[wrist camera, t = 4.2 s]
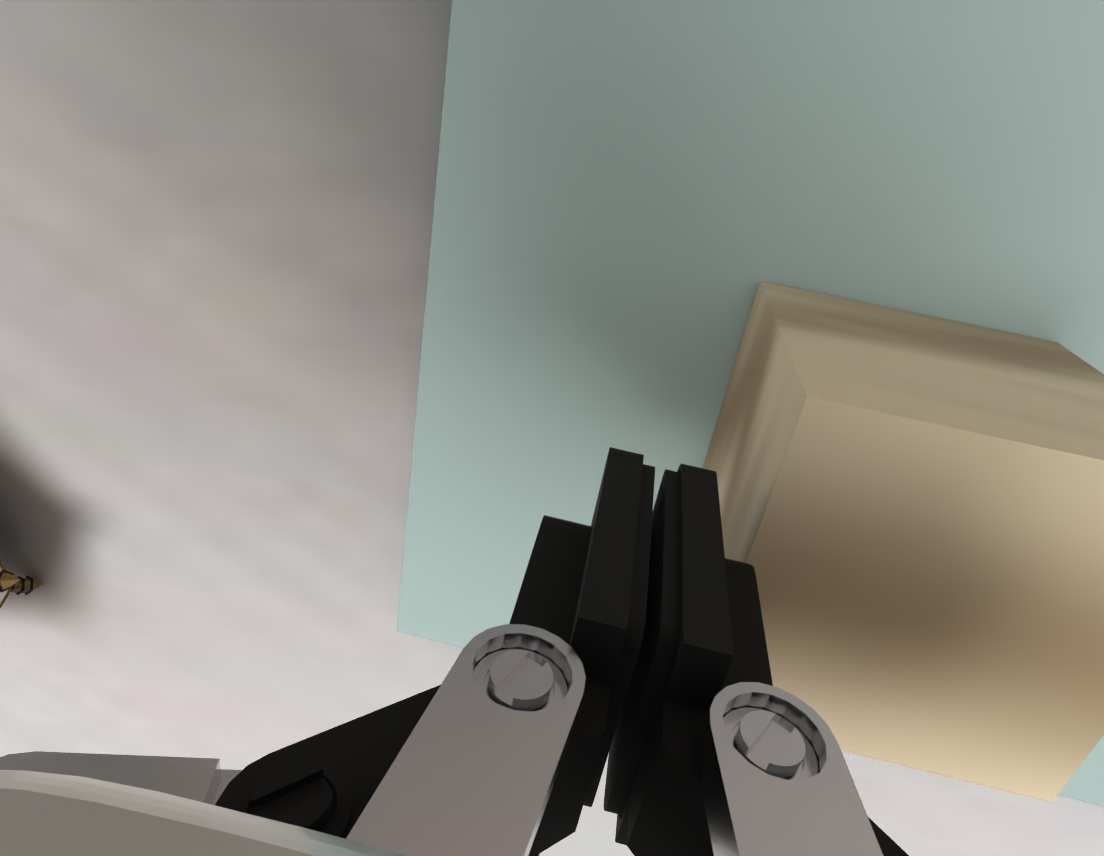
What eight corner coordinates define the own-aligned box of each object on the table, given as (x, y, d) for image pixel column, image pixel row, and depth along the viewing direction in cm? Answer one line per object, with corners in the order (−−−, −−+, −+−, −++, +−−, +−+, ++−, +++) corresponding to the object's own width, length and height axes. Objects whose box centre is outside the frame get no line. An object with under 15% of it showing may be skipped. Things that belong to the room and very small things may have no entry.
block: (759, 280, 15) (807, 396, 9) (1056, 341, 14) (1285, 499, 9) (686, 517, 17) (690, 713, 12) (933, 574, 17) (1051, 802, 12)
